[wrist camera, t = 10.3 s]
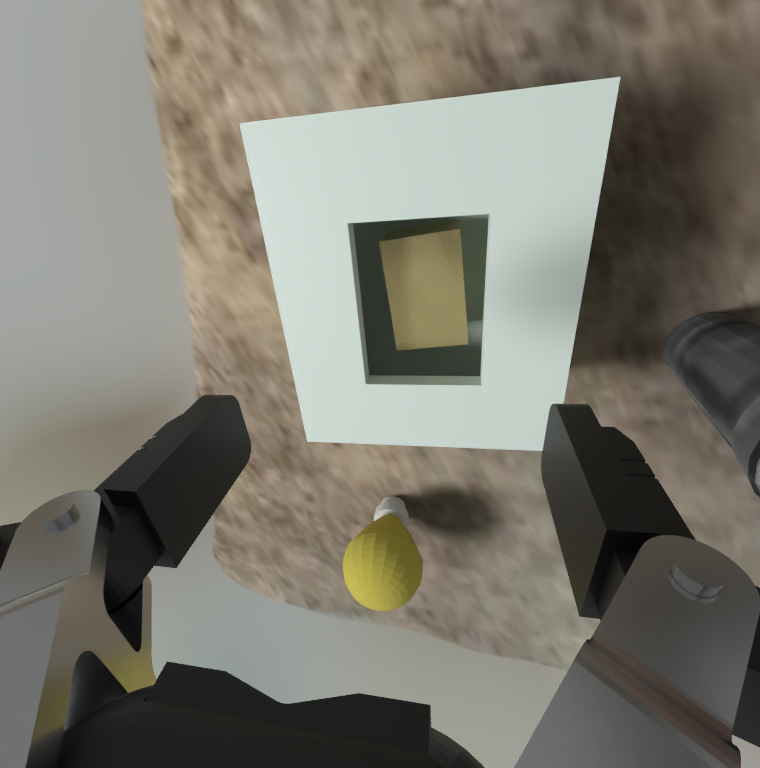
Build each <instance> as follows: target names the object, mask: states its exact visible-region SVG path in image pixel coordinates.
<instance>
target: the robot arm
mask: <svg viewBox="0 0 760 768" xmlns="http://www.w3.org/2000/svg"><path fill="white" fill-rule="evenodd" d="M250 453H251V442H250V438H249V435H248V432H247V428H246V425H245V422H244V418H243V415H242V412H241V409H240V405H239V402H238V400H237V399H236V398H235V397H234V396H232V395H204V396H202V397H201V398H199V399H198V400H197V401H196V402H195V403H194V404H193V405H192V406H191V407H190V408H189V409H188V410H187V411H186V412H185V413H184V414H182V415H180V416H178V417H177V418H175V419H173V420H171V421H170V422H168V423H167V424H165V425H164V426H163V427H162V428H161V429H160V430H159V431H158V432H157V433H156V434H155V435H153V438H152V439H149V440H148V441H147V442H146V443H145V444H144V445H143V446H142V447H141V450H137V451H136V452H135V453H134V454H133V455H132V456H131V457H130V458H129V459H127V460H126V461H125V462H124V463H123V464H122V465H121V466H120V467H119V468H118V469H117V470H116V471H114V472H113V473H112V474H111V475H110V476H109V477H108V478H107V479H106V480H105V481H104V482H103V483H101V484H100V485H99V487H97V488H96V489H95V490H94V491H91V490H81V491H74V492H70V493H67V494H64V495H61V496H59V497H56V498H54V499H52V500H50V501H48V502H47V503H45V504H43V505H42V506H40V507H38V508H37V509H36V510H34V511H33V512H32V513H30V514H29V515H28V516H27V517H26V518H25V519H24V520H23V521H22V522H20V523H14V524H9V525H3V526H0V768H484V767H483V766H482V764H481V763H479V762H478V761H477V760H476V759H475V758H474V757H473V756H472V755H471V754H470V753H469V752H468V751H467V750H465V749H464V748H463V747H462V746H460V745H459V744H458V743H456V742H455V741H453V740H452V739H451V738H449V737H448V736H446V735H444V734H442V733H441V732H439V731H437V730H435V729H433V728H431V710H430V705H427V704H420V703H415V702H408V701H402V700H396V699H390V698H384V697H377V696H371V695H366V694H360V693H358V694H352V695H345V696H338V697H332V698H325V699H319V700H312V701H305V702H299V703H292V704H284V703H280V702H277V701H275V700H274V699H272V698H270V697H269V696H267V695H265V694H263V693H262V692H260V691H258V690H257V689H255V688H253V687H251V686H250V685H248V684H246V683H245V682H242V681H241V680H240V679H238V678H236V677H234V676H232V675H231V674H229V673H228V672H225V671H220V670H214V669H208V668H202V667H196V666H190V665H184V664H178V663H172V662H167V663H166V665H165V666H164V668H163V670H162V671H161V673H160V675H159V677H158V679H157V680H156V677H155V675H154V671H153V666H152V657H151V600H152V599H151V598H152V597H151V595H152V593H151V589H152V588H151V587H152V586H151V581H150V579H149V577H148V575H147V574H148V573H149V572H150V570H151V569H152V568H153V566H163V567H171V568H177V566H178V565H179V563H180V562H181V560H182V558H183V557H184V556H185V554H186V553H187V551H188V550H189V548H190V547H191V545H192V544H193V543H194V541H195V540H196V538H197V537H198V535H199V534H200V532H201V531H202V529H203V528H204V526H205V525H206V523H207V522H208V520H209V519H210V518H211V516H212V515H213V513H214V512H215V510H216V509H217V507H218V506H219V504H220V503H221V501H222V500H223V498H224V497H225V495H226V494H227V492H228V491H229V489H230V488H231V487H232V485H233V484H234V482H235V481H236V479H237V478H238V476H239V475H240V473H241V472H242V470H243V469H244V467H245V466H246V464H247V463H248V460H249V458H250ZM541 471H542V479H543V484H544V487H545V491H546V495H547V498H548V502H549V506H550V509H551V513H552V517H553V520H554V524H555V528H556V532H557V535H558V539H559V543H560V546H561V550H562V554H563V557H564V561H565V565H566V568H567V572H568V576H569V579H570V583H571V587H572V590H573V594H574V598H575V601H576V605H577V609H578V612H579V616H580V617H589V618H598V619H600V620H601V622H600V623H599V625H598V627H597V629H596V631H595V633H594V634H593V636H592V637H591V639H590V640H588V639H587V640H586V642H585V643H584V644H583V646H582V647H581V649H580V651H579V652H578V654H577V656H576V658H575V659H574V661H573V663H572V665H571V667H570V668H569V670H568V672H567V674H566V676H565V677H564V679H563V681H562V683H561V685H560V686H559V688H558V690H557V692H556V694H555V695H554V697H553V699H552V701H551V703H550V704H549V706H548V708H547V710H546V712H545V713H544V715H543V717H542V719H541V720H540V722H539V724H538V726H537V728H536V730H535V731H534V733H533V735H532V737H531V738H530V741H529V742H528V744H527V746H526V747H525V749H524V751H523V753H522V755H521V757H520V758H519V760H518V762H517V764H516V765H515V767H514V768H740V767H741V756H740V751H739V749H738V747H737V746H735V745H734V744H732V735H735V736H737V737H739V738H741V739H743V740H745V741H748V742H749V743H752V744H754V745H756V746H758V747H760V588H759V587H757V586H755V585H754V583H753V582H752V580H751V579H750V578H749V576H748V575H747V574H746V573H745V572H744V571H743V570H742V569H741V568H740V567H739V566H738V565H737V564H736V563H735V562H733V561H732V560H731V559H730V558H728V557H727V556H725V555H724V554H722V553H721V552H719V551H718V550H716V549H714V548H712V547H710V546H708V545H706V544H703V543H701V542H699V541H696V540H695V538H694V537H693V535H692V534H691V532H690V530H689V529H688V527H687V526H686V524H685V522H684V521H683V519H682V518H681V516H680V514H679V513H678V511H677V510H676V508H675V507H674V505H673V503H672V502H671V500H670V499H669V497H668V495H667V494H666V492H665V491H664V489H663V487H662V486H661V484H660V483H659V481H658V479H655V475H654V473H653V472H652V470H651V468H650V467H649V465H648V464H646V463H645V459H644V457H643V456H642V454H641V452H640V451H639V449H638V448H637V446H636V445H635V443H634V442H633V441H632V440H630V439H629V438H628V437H627V436H625V435H624V434H623V433H621V432H620V431H619V430H617V429H616V428H615V427H601V425H600V424H599V422H598V420H597V418H596V416H595V414H594V413H593V411H592V409H591V407H590V406H589V405H587V404H552V405H551V407H550V410H549V415H548V421H547V427H546V433H545V439H544V445H543V451H542V459H541Z"/></svg>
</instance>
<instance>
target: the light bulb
mask: <svg viewBox="0 0 760 768" xmlns="http://www.w3.org/2000/svg"><path fill="white" fill-rule="evenodd" d="M407 525H408V512H407V510H406V509H405V503H404V501H403V500H402V499H400V498H398V497H394V496H389V497H386V498H384V499H383V501H382V504H380V505H379V506H378V507H377V508H376V511H375V515H374V522H372V523H371V524H369V525H368V526H366V527H365V528H364V529H363V530H362V531H361V532H360V533H359V534H358V535H357V536H356V537H355V538H354V539H353V540H352V541H351V542H350V543H349V544H348V547H347V550H346V552H345V555H344V559H343V572H344V579H345V583H346V585H347V587H348V589H349V591H350V592H351V594H352V596H353V597H354V598H355V599H356V600H357V601H358V602H359V603H360V604H362V605H364V606H365V607H367V608H369V609H372V610H376V611H390V610H394V609H397V608H399V607H401V606H402V605H404V604H405V603H407V602H408V601H409V600H410V599H411V598H412V597H413V595H414V594H415V592H416V590H417V589H418V587H419V585H420V582H421V579H422V569H423V560H422V558H421V556H420V553H419V551H418V549H417V547H416V545H415V542H414V540H413V538H412V536H411V534H410V533H409V531H408V530H407V529H406V527H407Z"/></svg>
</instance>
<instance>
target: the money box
mask: <svg viewBox="0 0 760 768" xmlns="http://www.w3.org/2000/svg"><path fill="white" fill-rule="evenodd" d="M619 83H620V77H615V78H607V79H598V80H590V81H582V82H574V83H566V84H558V85H549V86H541V87H533V88H525V89H517V90H509V91H500V92H492V93H484V94H476V95H468V96H460V97H451V98H443V99H435V100H427V101H419V102H411V103H402V104H394V105H386V106H378V107H370V108H362V109H353V110H345V111H337V112H329V113H321V114H313V115H305V116H296V117H288V118H280V119H272V120H264V121H256V122H247V123H240V128H241V132H242V137H243V142H244V147H245V151H246V156H247V161H248V165H249V170H250V175H251V179H252V184H253V189H254V193H255V198H256V203H257V208H258V212H259V217H260V222H261V226H262V231H263V236H264V240H265V245H266V250H267V255H268V259H269V264H270V269H271V273H272V278H273V283H274V287H275V292H276V297H277V301H278V306H279V311H280V316H281V320H282V325H283V330H284V334H285V339H286V344H287V348H288V353H289V358H290V362H291V367H292V372H293V377H294V381H295V386H296V391H297V395H298V400H299V405H300V409H301V414H302V419H303V424H304V428H305V433H306V438H307V441H309V442H334V443H359V444H384V445H409V446H434V447H459V448H484V449H509V450H534V451H543V445H544V439H545V433H546V427H547V421H548V415H549V410H550V407H551V405H552V404H563V402H564V397H565V391H566V385H567V380H568V374H569V368H570V363H571V357H572V351H573V345H574V340H575V334H576V328H577V323H578V317H579V311H580V305H581V300H582V294H583V288H584V283H585V277H586V271H587V266H588V260H589V254H590V248H591V243H592V237H593V231H594V226H595V220H596V214H597V208H598V203H599V197H600V191H601V186H602V180H603V174H604V168H605V163H606V157H607V151H608V146H609V140H610V134H611V129H612V123H613V117H614V111H615V106H616V100H617V94H618V89H619ZM454 220H460V232H461V246H462V260H463V274H464V289H465V303H466V317H467V331H468V344H465V345H454V346H443V347H432V348H421V349H410V350H399V351H397V348H396V342H395V336H394V330H393V324H392V318H391V312H390V306H389V300H388V294H387V288H386V282H385V276H384V270H383V264H382V257H381V251H380V245H379V241H380V240H381V239H382V238H383V237H384V236H385V235H386V234H387V233H388V232H389V231H393V230H399V229H405V228H412V227H418V226H424V225H430V224H436V223H442V222H448V221H454Z"/></svg>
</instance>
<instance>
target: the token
mask: <svg viewBox="0 0 760 768" xmlns="http://www.w3.org/2000/svg"><path fill="white" fill-rule="evenodd" d="M379 245H380V251H381V257H382V264H383V270H384V276H385V282H386V288H387V294H388V300H389V306H390V312H391V318H392V324H393V330H394V336H395V342H396V348H397V351H399V350H410V349H421V348H432V347H443V346H454V345H465V344H468V331H467V317H466V303H465V289H464V274H463V260H462V246H461V232H460V220H454V221H448V222H442V223H436V224H430V225H424V226H418V227H412V228H405V229H399V230H393V231H389V232H388V233H387V234H386V235H385V236H384V237H383V238H382V239H381V240H380V241H379Z"/></svg>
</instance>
